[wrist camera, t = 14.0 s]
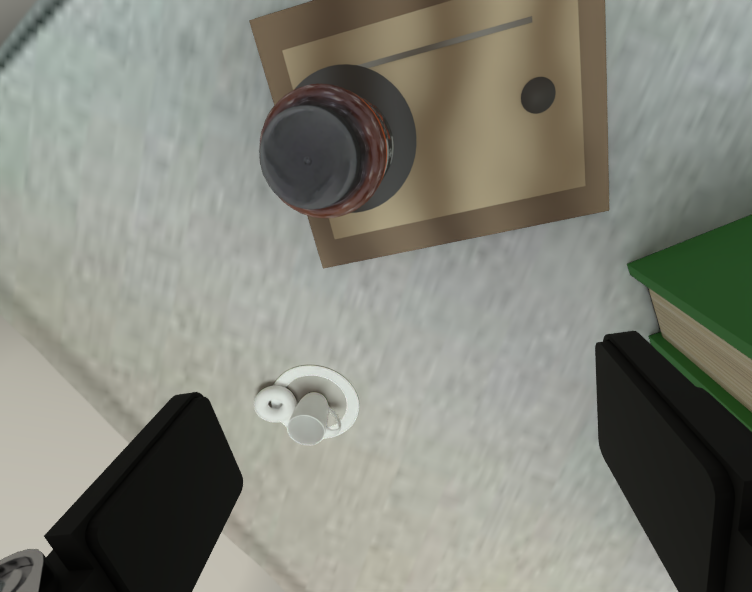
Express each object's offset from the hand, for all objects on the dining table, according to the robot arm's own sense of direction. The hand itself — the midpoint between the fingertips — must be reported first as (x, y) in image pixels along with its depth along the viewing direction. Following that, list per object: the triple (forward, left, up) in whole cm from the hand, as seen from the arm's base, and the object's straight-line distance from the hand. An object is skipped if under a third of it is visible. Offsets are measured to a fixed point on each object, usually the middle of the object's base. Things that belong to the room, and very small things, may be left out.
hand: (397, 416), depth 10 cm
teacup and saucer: (+12, +11, -22) cm, 28 cm away
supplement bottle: (+3, -6, -20) cm, 21 cm away
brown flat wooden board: (-3, -6, -21) cm, 22 cm away
